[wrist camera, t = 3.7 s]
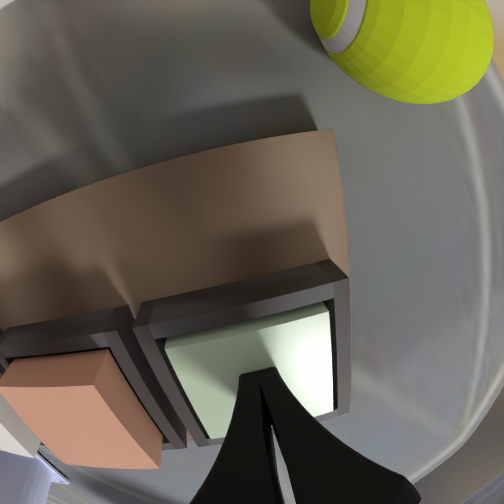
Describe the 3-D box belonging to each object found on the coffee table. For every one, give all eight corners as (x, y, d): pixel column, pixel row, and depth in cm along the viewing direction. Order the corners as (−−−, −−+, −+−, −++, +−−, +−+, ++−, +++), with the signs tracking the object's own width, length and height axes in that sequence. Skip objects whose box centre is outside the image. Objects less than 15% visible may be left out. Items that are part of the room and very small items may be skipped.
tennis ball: (284, -28, 8) (336, -120, 2) (410, 4, 9) (499, -36, 3) (291, 102, 10) (382, 58, 4) (424, 120, 11) (539, 124, 5)
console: (16, 421, 14) (3, 449, 11) (-74, 263, 10) (-103, 283, 6) (341, 386, 16) (361, 425, 13) (318, 130, 11) (355, 126, 8)
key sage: (209, 408, 13) (210, 439, 11) (170, 317, 11) (164, 348, 9) (320, 382, 13) (333, 410, 11) (311, 285, 11) (329, 311, 9)
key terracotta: (72, 436, 11) (64, 463, 9) (14, 358, 9) (-5, 386, 7) (162, 435, 12) (159, 468, 10) (108, 348, 10) (93, 385, 8)
